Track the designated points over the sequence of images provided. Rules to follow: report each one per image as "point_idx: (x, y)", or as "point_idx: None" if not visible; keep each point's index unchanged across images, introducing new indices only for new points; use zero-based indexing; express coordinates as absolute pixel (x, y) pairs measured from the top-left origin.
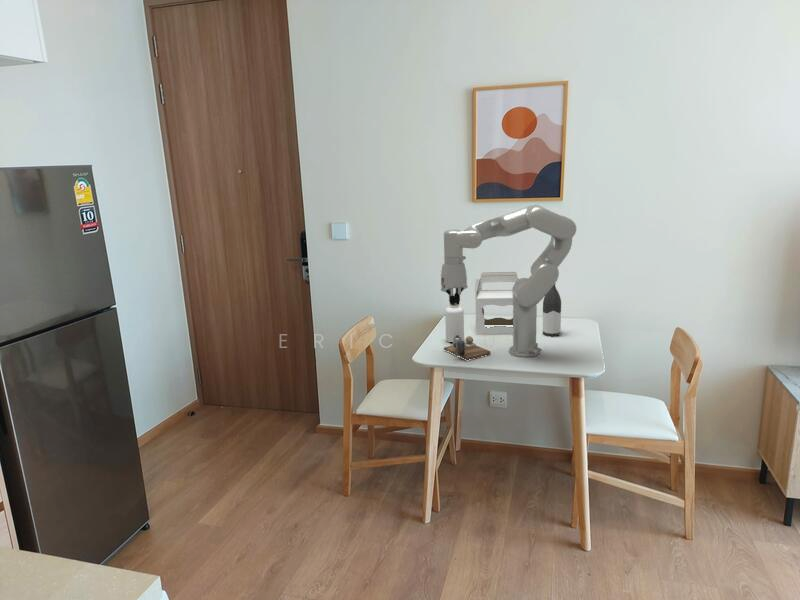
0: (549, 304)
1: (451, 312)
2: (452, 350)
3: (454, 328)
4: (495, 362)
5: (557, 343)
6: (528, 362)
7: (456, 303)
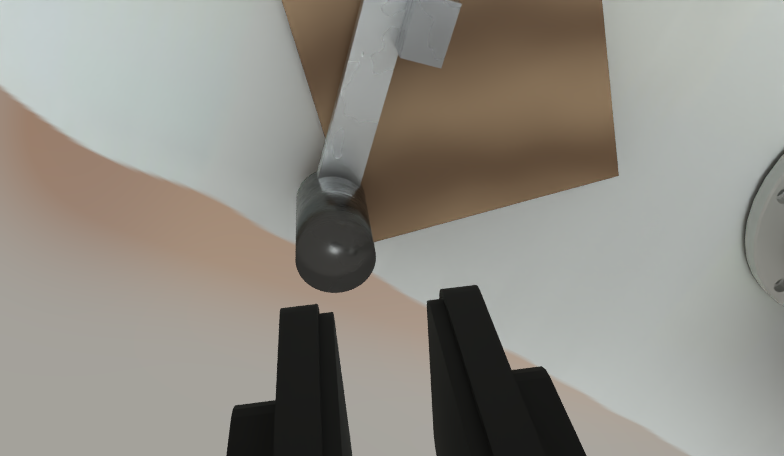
0: None
1: None
2: (304, 20)
3: None
4: (543, 317)
5: None
6: (730, 377)
7: (433, 397)
